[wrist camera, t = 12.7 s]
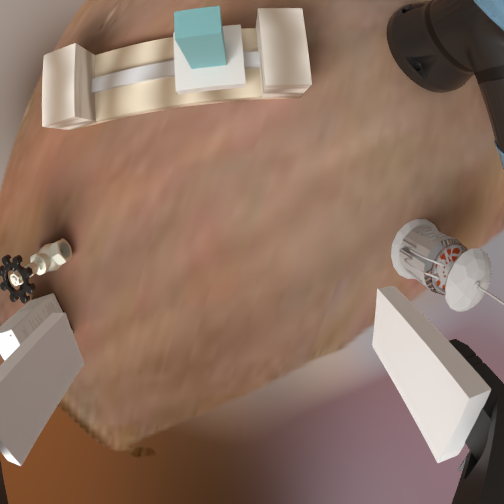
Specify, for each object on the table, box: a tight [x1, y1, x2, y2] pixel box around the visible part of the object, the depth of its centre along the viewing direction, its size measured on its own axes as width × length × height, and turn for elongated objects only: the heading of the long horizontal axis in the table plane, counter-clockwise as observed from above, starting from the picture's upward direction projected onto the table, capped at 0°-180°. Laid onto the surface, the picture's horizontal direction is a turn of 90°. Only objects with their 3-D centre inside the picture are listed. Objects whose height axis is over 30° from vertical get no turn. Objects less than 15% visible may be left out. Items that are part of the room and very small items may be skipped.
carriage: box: [173, 6, 246, 95], centre depth 27 cm, size 8×8×13 cm
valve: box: [0, 238, 72, 303], centre depth 36 cm, size 7×7×12 cm
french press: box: [391, 219, 504, 311], centre depth 32 cm, size 10×12×25 cm
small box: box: [0, 293, 74, 361], centre depth 39 cm, size 8×6×13 cm
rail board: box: [42, 8, 312, 130], centre depth 32 cm, size 32×10×8 cm, turn 94°
